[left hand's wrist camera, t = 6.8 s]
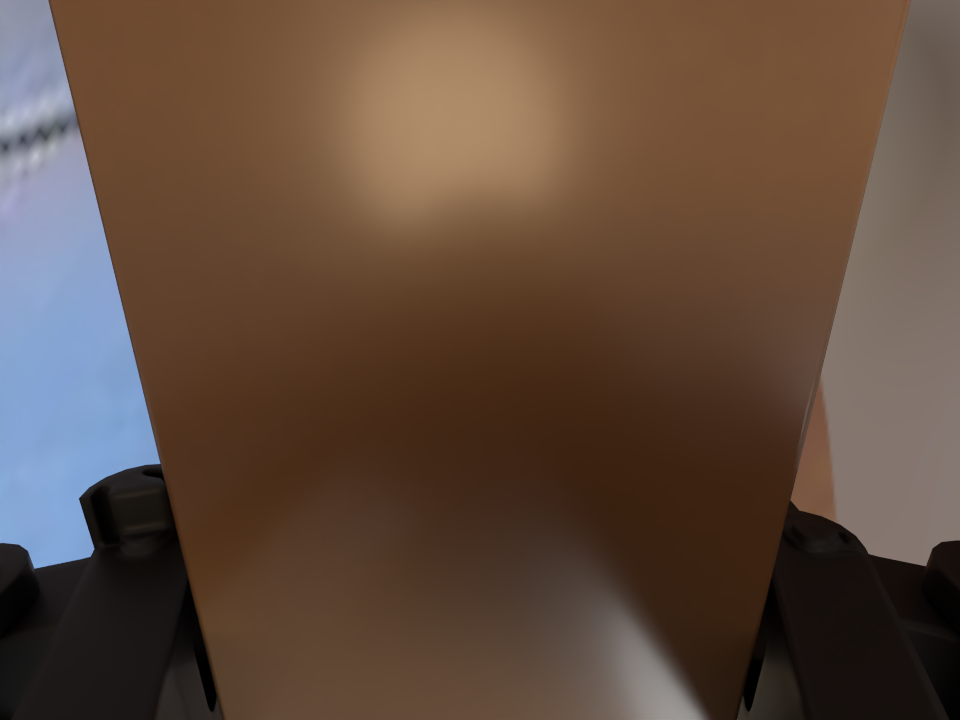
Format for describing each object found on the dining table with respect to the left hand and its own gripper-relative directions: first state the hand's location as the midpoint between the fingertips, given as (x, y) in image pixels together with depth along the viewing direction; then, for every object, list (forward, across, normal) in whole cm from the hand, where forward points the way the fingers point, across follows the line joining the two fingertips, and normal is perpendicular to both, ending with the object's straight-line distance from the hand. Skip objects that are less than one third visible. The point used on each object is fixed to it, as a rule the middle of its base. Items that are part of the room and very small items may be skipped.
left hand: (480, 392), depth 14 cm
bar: (0, 0, -7) cm, 7 cm away
